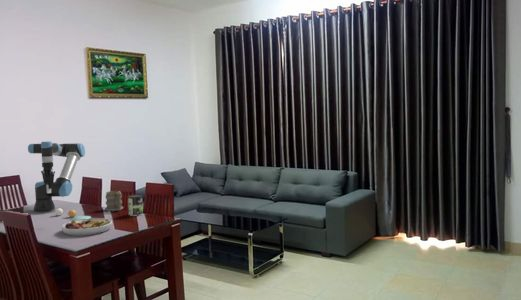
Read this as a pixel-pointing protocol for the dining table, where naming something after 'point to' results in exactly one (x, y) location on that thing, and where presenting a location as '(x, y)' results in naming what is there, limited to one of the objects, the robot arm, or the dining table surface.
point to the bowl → (86, 226)
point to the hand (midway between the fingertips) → (49, 193)
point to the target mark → (80, 217)
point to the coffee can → (135, 205)
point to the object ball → (71, 213)
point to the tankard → (113, 201)
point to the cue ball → (59, 211)
